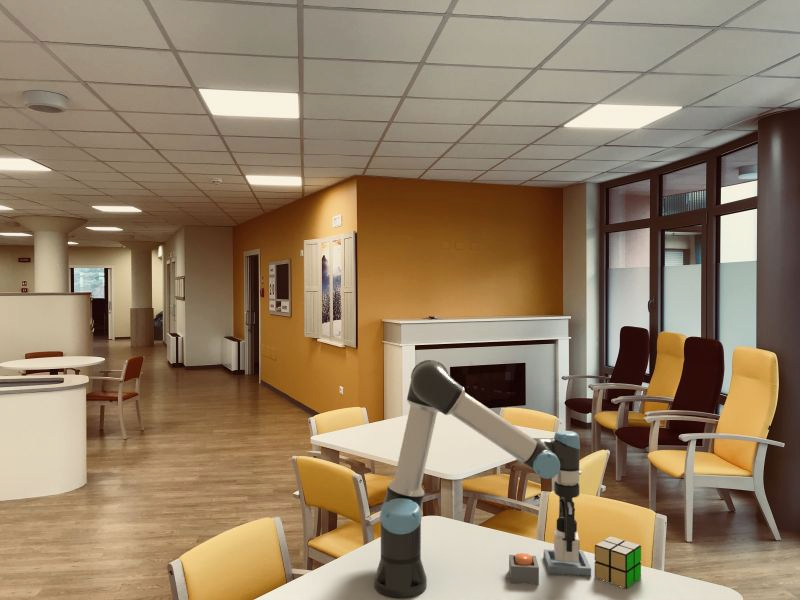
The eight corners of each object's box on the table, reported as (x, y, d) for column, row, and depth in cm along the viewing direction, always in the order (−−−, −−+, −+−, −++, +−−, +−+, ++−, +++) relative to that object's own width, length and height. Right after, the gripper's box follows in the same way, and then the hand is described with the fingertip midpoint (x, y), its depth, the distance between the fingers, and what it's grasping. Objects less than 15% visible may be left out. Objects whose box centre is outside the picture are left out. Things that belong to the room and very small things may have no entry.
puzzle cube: (609, 567, 190) (610, 535, 190) (641, 578, 182) (641, 544, 182) (593, 578, 183) (594, 544, 182) (626, 589, 175) (626, 554, 175)
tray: (548, 574, 184) (548, 566, 184) (543, 557, 197) (543, 549, 197) (591, 576, 183) (591, 568, 183) (583, 558, 195) (583, 551, 195)
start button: (515, 568, 180) (515, 560, 180) (514, 561, 185) (514, 553, 185) (533, 569, 180) (533, 560, 180) (531, 562, 185) (531, 553, 185)
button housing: (511, 583, 179) (511, 566, 179) (509, 570, 187) (509, 554, 187) (538, 584, 178) (538, 567, 178) (535, 572, 186) (535, 555, 186)
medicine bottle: (579, 563, 186) (579, 524, 186) (555, 561, 187) (555, 522, 187) (577, 553, 193) (577, 515, 193) (554, 551, 194) (554, 514, 194)
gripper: (585, 492, 179) (585, 570, 179) (573, 472, 199) (572, 542, 200) (559, 491, 180) (559, 569, 180) (549, 472, 200) (549, 541, 200)
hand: (566, 555), depth 190 cm, fingers closed on medicine bottle, 7 cm apart
